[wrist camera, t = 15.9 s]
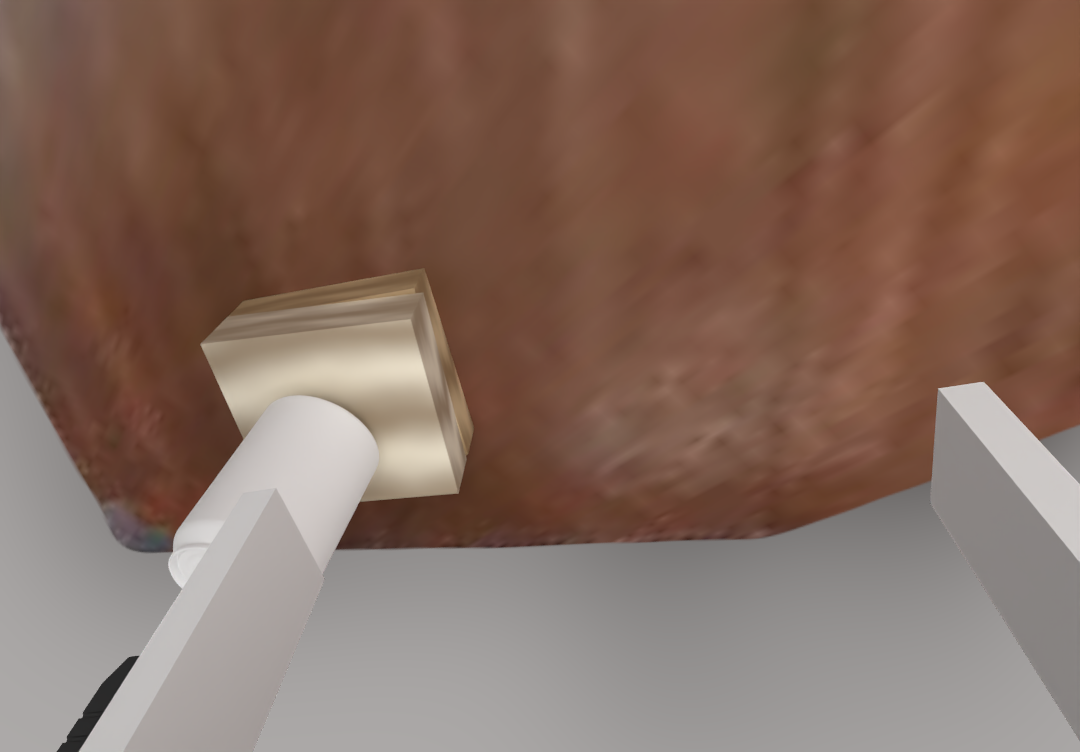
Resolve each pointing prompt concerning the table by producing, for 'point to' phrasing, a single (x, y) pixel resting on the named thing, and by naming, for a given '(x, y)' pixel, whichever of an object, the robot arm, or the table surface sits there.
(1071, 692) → the robot arm
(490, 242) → the table surface
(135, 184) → the table surface
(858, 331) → the table surface
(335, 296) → the bottom slab
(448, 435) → the top slab
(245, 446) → the beverage can
